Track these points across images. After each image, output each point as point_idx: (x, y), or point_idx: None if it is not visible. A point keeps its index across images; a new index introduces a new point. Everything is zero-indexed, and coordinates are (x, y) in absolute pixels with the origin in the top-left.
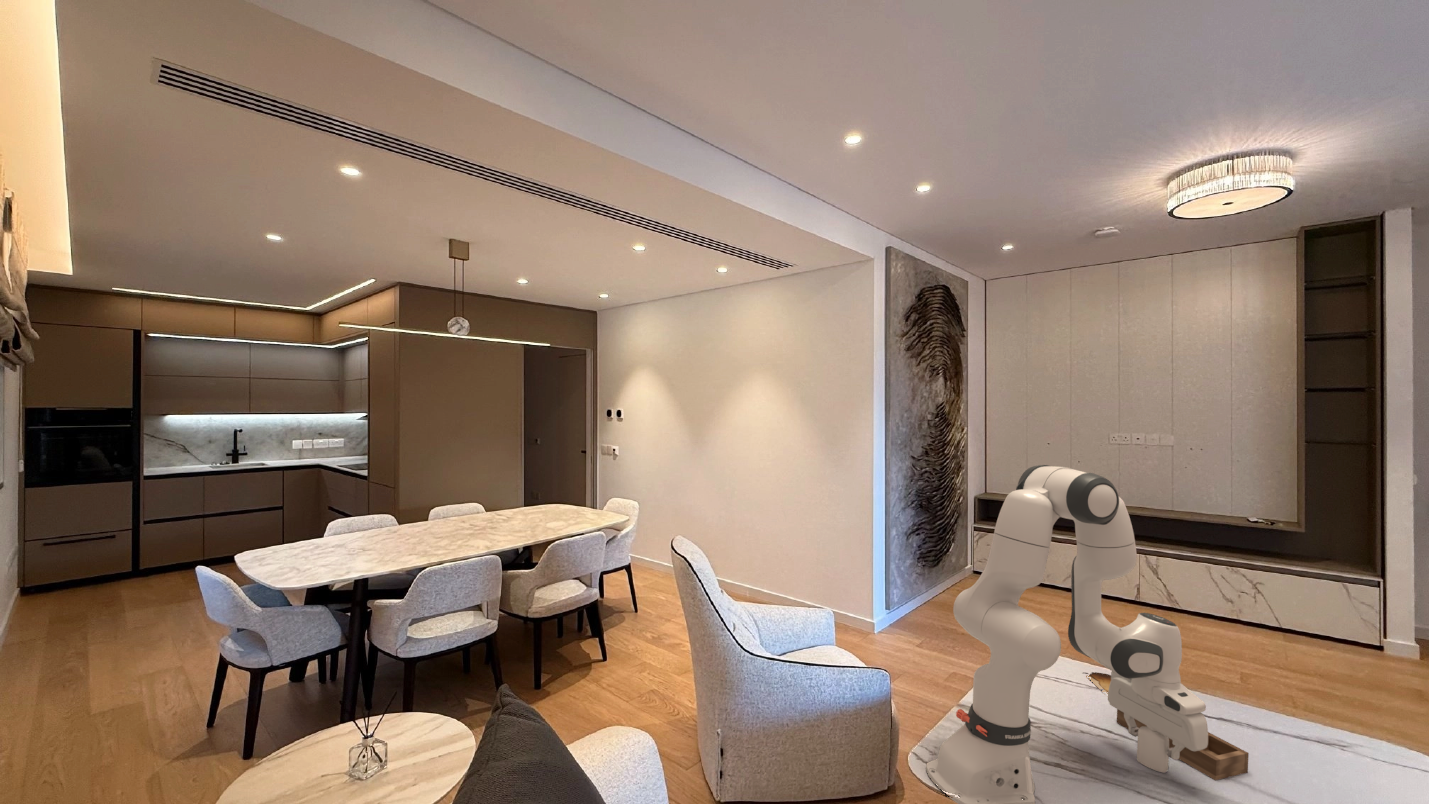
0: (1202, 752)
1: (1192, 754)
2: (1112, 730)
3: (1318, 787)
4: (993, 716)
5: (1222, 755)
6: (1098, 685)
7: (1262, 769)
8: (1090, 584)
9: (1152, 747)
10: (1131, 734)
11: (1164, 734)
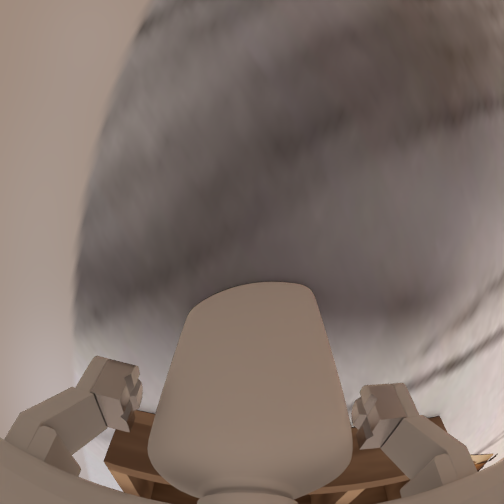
0: (150, 474)
1: None
2: (444, 378)
3: (101, 484)
4: None
5: (129, 485)
6: (476, 458)
7: None
8: None
9: (223, 370)
10: (385, 384)
11: (71, 485)
